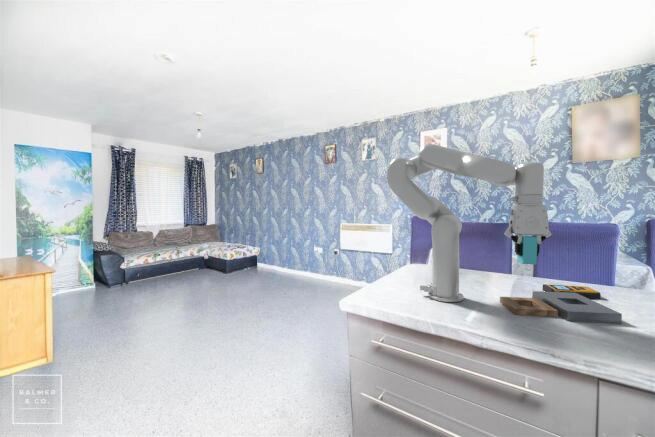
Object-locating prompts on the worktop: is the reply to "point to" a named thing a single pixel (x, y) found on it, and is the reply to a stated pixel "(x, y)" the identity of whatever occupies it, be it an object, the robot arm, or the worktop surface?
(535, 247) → the plug
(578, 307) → the panel
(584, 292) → the electronic device
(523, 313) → the wooden square tray
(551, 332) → the worktop surface
